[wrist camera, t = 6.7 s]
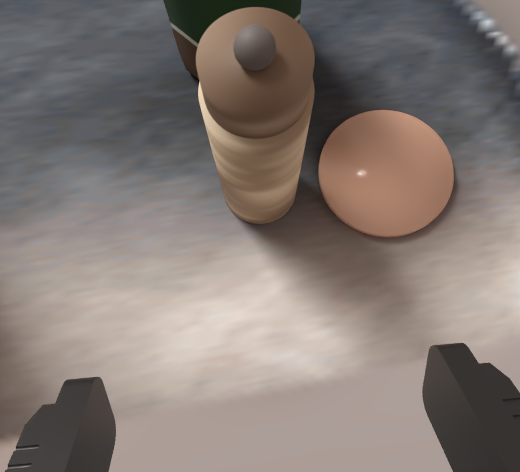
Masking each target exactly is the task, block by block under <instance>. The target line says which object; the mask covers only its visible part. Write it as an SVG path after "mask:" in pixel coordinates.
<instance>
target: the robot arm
mask: <svg viewBox="0 0 520 472" xmlns="http://www.w3.org/2000/svg"><path fill="white" fill-rule="evenodd" d="M423 402H424V406H425V410H426V413H427V415H428V417H429V420H430V422H431V424H432V426H433V428H434V431H435V433H436V435H437V437H438V439H439V442H440V444H441V446H442V448H443V450H444V453H445V455H446V457H447V459H448V461H449V464H450V466H451V468H452V470H453V472H520V393H519V391H518V390H517V388H516V387H515V386H514V384H513V383H512V381H511V380H510V378H508V377H507V376H506V375H504V374H503V373H502V372H501V371H499V370H498V369H497V368H495V367H494V366H493V365H492V364H490V363H482V364H479V363H478V362H477V360H476V359H475V357H474V356H473V354H472V352H471V351H470V349H469V348H468V347H467V346H466V345H465V344H464V343H455V344H444V345H433V346H431V347H430V349H429V353H428V359H427V365H426V371H425V378H424V383H423ZM115 437H116V426H115V419H114V415H113V412H112V409H111V406H110V403H109V400H108V397H107V394H106V390H105V387H104V384H103V381H102V379H101V378H100V377H92V378H81V379H70V380H66V381H65V382H64V384H63V386H62V388H61V391H60V393H59V396H58V398H57V401H56V403H55V404H49V405H43V406H42V407H41V408H40V409H39V410H38V411H37V412H36V414H35V415H34V416H33V417H32V418H31V419H30V420H29V421H28V423H27V424H26V425H25V427H24V430H23V432H22V434H21V436H20V439H19V441H18V443H17V445H16V451H14V452H13V455H12V457H11V459H10V461H9V464H8V469H7V470H5V472H108V471H109V467H110V462H111V458H112V454H113V450H114V445H115Z"/></svg>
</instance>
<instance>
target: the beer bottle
mask: <svg viewBox="0 0 520 472" xmlns="http://www.w3.org/2000/svg"><path fill="white" fill-rule="evenodd" d="M164 3H165V7H166V10H167V13H168V16H169V20H170V23H171V26H172V30H173V33H174V36H175V39H176V43H177V46H178V49H179V53H180V55H181V58H182V60H183V63H184V65H185V67H186V70H188V71H189V72H190V73H191V74H193V75H194V76H195V77H196V78H197V79H199V77H198V72H197V67H196V52H197V48H198V44H199V42H200V39H201V37H202V36H203V34H204V32H205V31H206V30H207V29H208V27H209V26H210V25H211V24H212V23H213V22H215V21H216V20H217V19H219V18H220V17H222V16H223V15H225V14H227V13H229V12H232V11H234V10H238V9H242V8H248V7H264V8H270V9H274V10H277V11H280V12H282V13H285V14H286V15H288V16H290V17H292V18H293V19H294V20H296V21H297V22H298V23H299V21H300V9H301V0H164Z"/></svg>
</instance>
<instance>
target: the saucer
mask: <svg viewBox="0 0 520 472" xmlns="http://www.w3.org/2000/svg"><path fill="white" fill-rule="evenodd" d="M318 180H319V185H320V190H321V192H322V195H323V197H324V199H325V201H326V203H327V205H328V206H329V208H330V209H331V210H332V212H333V213H334V214H335V215H336V216H337V217H338V218H339V219H340V220H341V221H342V222H344V223H345V224H346V225H348V226H350V227H351V228H353V229H355V230H357V231H359V232H361V233H364V234H367V235H371V236H376V237H386V238H389V237H399V236H405V235H408V234H411V233H414V232H416V231H418V230H420V229H422V228H423V227H425V226H426V225H428V224H429V223H430V222H431V221H432V220H434V219H435V218H436V217H437V216H438V215H439V214H440V213H441V211H442V210H443V209H444V207H445V206H446V204H447V202H448V200H449V198H450V196H451V192H452V189H453V182H454V169H453V163H452V160H451V156H450V154H449V151H448V149H447V147H446V146H445V144H444V142H443V141H442V139H441V138H440V137H439V136H438V134H437V133H436V132H435V131H434V130H433V129H432V128H431V127H429V126H428V125H427V124H425V123H424V122H422V121H421V120H419V119H417V118H415V117H413V116H411V115H408V114H405V113H402V112H397V111H392V110H374V111H368V112H364V113H361V114H358V115H355V116H353V117H351V118H349V119H348V120H346V121H344V122H343V123H342V124H340V125H339V126H338V127H337V128H336V129H335V130H334V131H333V132H332V133H331V135H330V136H329V138H328V139H327V141H326V143H325V145H324V147H323V150H322V152H321V156H320V160H319V165H318Z"/></svg>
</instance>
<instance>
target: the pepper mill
mask: <svg viewBox="0 0 520 472" xmlns="http://www.w3.org/2000/svg"><path fill="white" fill-rule="evenodd" d="M314 63H315V54H314V48H313V44H312V42H311V39H310V37H309V35H308V34H307V32H306V31H305V29H304V28H303V27H302V26H301V25H300V24H299V23H298V22H297V21H296V20H294V19H293V18H292V17H290V16H288V15H286V14H285V13H282V12H280V11H277V10H274V9H270V8H264V7H248V8H242V9H238V10H234V11H232V12H229V13H227V14H225V15H223V16H222V17H220V18H219V19H217V20H216V21H215V22H213V23H212V24H211V25H210V26H209V27H208V29H207V30H206V31H205V32H204V34H203V36H202V37H201V39H200V42H199V44H198V48H197V52H196V67H197V72H198V77H199V81H200V82H199V88H198V97H199V103H200V107H201V111H202V114H203V118H204V122H205V126H206V129H207V133H208V137H209V141H210V144H211V148H212V152H213V156H214V159H215V163H216V167H217V171H218V174H219V178H220V182H221V186H222V189H223V193H224V197H225V200H226V203H227V205H228V207H229V208H230V210H231V211H232V212H233V213H234V214H235V215H236V216H237V217H238V218H240V219H241V220H244V221H246V222H249V223H253V224H267V223H271V222H274V221H276V220H278V219H280V218H281V217H283V216H284V215H285V214H286V213H287V212H288V211H289V210H290V208H291V207H292V205H293V203H294V200H295V196H296V191H297V185H298V180H299V175H300V170H301V164H302V159H303V154H304V149H305V143H306V138H307V133H308V128H309V122H310V117H311V112H312V107H313V101H314V93H315V89H314V81H313V77H312V76H313V70H314Z"/></svg>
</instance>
